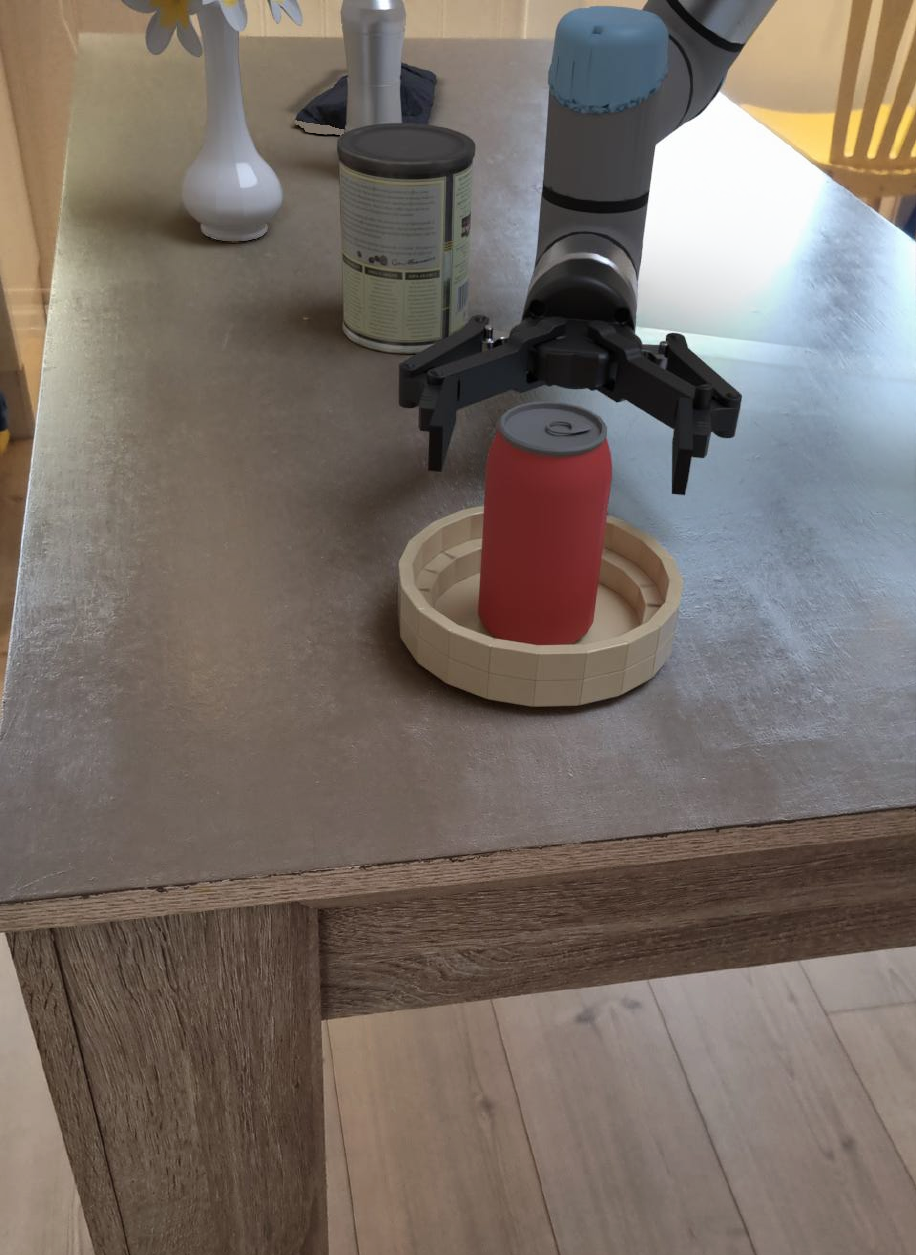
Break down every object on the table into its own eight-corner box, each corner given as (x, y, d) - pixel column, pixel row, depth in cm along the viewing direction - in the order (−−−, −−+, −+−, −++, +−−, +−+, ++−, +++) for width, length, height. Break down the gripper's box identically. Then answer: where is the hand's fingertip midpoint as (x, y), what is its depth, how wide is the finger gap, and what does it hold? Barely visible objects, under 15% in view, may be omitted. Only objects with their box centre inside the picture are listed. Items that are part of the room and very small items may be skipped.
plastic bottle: (357, 189, 132) (353, -44, 119) (334, 169, 137) (328, -57, 124) (415, 183, 135) (419, -46, 121) (391, 164, 139) (391, -59, 126)
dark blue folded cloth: (455, 95, 161) (457, 52, 158) (420, 145, 145) (421, 98, 141) (334, 85, 162) (333, 41, 159) (287, 133, 146) (284, 86, 143)
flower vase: (134, 262, 115) (91, -78, 98) (200, 197, 129) (173, -111, 112) (277, 277, 114) (259, -65, 97) (329, 210, 127) (320, -100, 110)
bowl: (683, 581, 79) (694, 523, 77) (656, 737, 68) (667, 674, 65) (434, 544, 81) (435, 486, 79) (366, 688, 70) (365, 626, 67)
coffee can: (334, 307, 109) (330, 122, 100) (455, 303, 111) (462, 121, 101) (348, 357, 102) (344, 163, 92) (478, 353, 103) (487, 161, 94)
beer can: (601, 655, 72) (628, 454, 64) (482, 657, 72) (495, 454, 63) (583, 590, 77) (606, 396, 69) (472, 591, 76) (482, 396, 68)
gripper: (756, 385, 89) (773, 543, 73) (395, 352, 91) (336, 500, 75) (779, 273, 84) (801, 417, 68) (396, 241, 86) (332, 374, 70)
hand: (557, 461), depth 72 cm, fingers open, 13 cm apart
